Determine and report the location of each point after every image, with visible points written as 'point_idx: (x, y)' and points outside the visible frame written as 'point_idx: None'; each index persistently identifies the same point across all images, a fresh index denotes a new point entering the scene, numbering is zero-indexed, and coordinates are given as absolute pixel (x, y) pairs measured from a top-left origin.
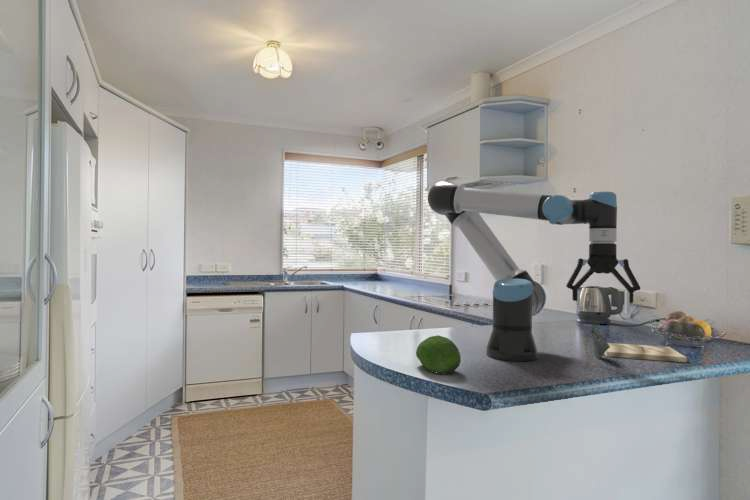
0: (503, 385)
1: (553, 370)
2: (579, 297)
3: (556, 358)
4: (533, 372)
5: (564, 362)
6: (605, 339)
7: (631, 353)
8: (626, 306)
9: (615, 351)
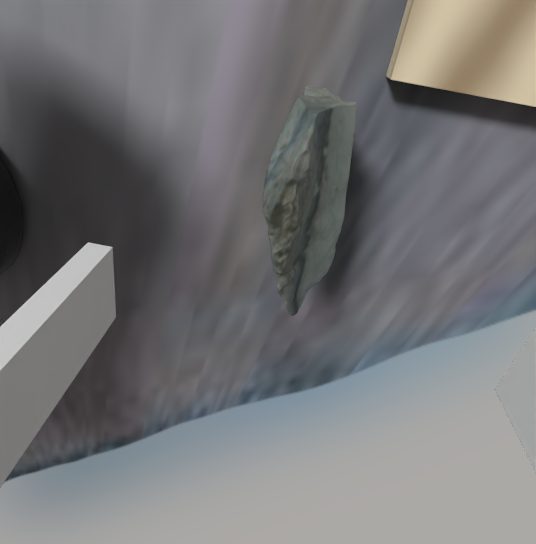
0: None
1: None
2: (31, 430)
3: (107, 171)
4: None
5: (136, 240)
6: (293, 313)
7: (525, 103)
8: (527, 444)
9: (454, 57)
